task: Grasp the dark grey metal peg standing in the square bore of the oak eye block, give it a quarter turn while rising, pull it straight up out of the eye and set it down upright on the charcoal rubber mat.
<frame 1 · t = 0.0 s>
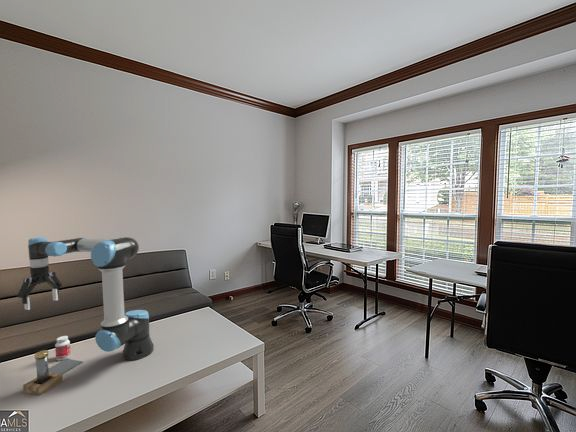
hand: (42, 304, 149), 28 cm above the table, fingers open, 13 cm apart
eye block: (43, 386, 125), on the table
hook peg: (42, 369, 124), in the eye block
rubber mat: (63, 367, 139), on the table
pill bottle: (63, 358, 147), on the table
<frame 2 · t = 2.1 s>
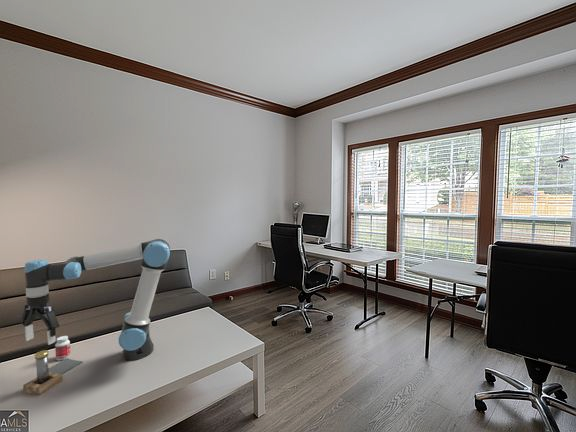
hand: (40, 341, 124), 21 cm above the table, fingers open, 13 cm apart
nothing on the table moved.
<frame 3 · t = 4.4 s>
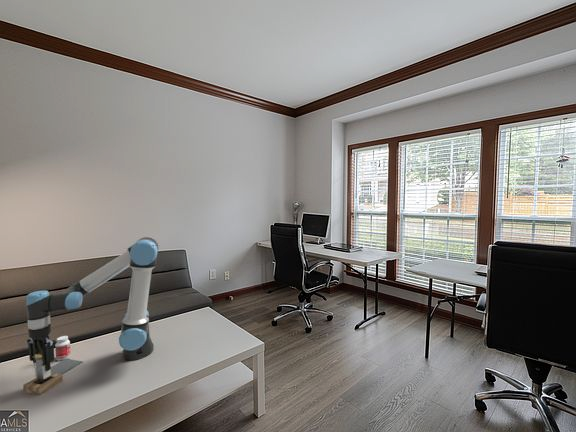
hand: (43, 376, 124), 5 cm above the table, fingers closed on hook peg, 4 cm apart
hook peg: (42, 369, 124), in the eye block, touching gripper
everything else where it was.
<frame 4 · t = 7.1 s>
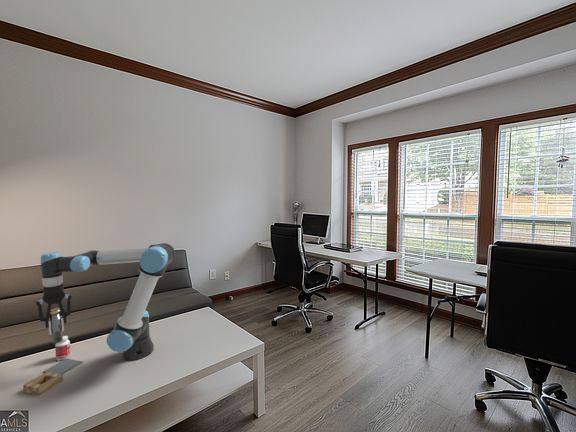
hand: (56, 331, 134), 20 cm above the table, fingers closed on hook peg, 4 cm apart
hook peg: (56, 325, 134), point 23 cm above the table, touching gripper
everything else where it was.
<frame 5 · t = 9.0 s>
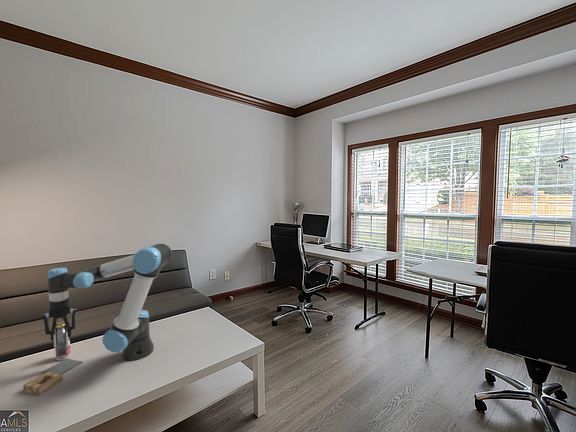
hand: (61, 344, 138), 12 cm above the table, fingers closed on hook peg, 4 cm apart
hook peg: (61, 338, 138), point 15 cm above the table, touching gripper
everything else where it was.
when the fingers open (6 cm above the table, at t = 10.3 s): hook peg stays where it is, resting on rubber mat.
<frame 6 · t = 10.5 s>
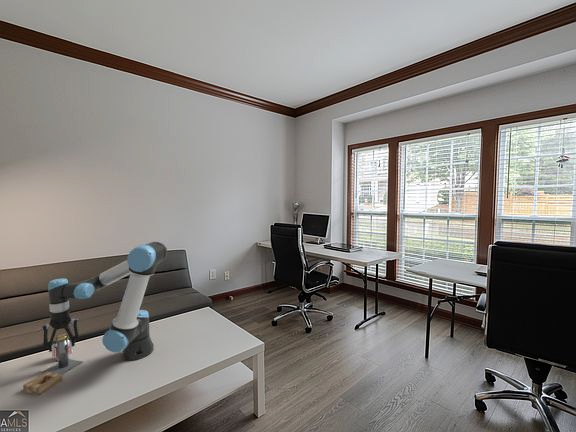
hand: (62, 354, 138), 7 cm above the table, fingers open, 6 cm apart
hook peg: (62, 351, 138), on the rubber mat, point 8 cm above the table
everything else where it was.
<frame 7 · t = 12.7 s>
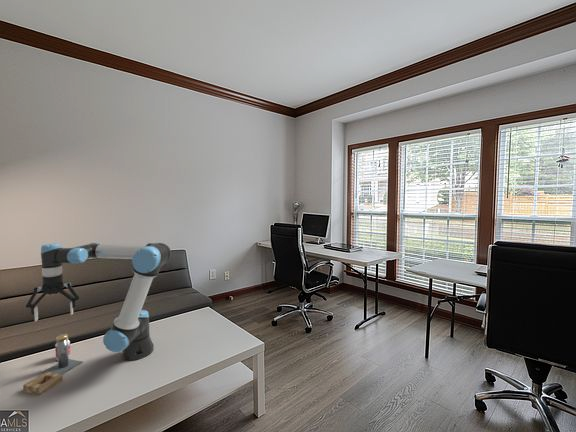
hand: (54, 317, 136), 26 cm above the table, fingers open, 13 cm apart
nothing on the table moved.
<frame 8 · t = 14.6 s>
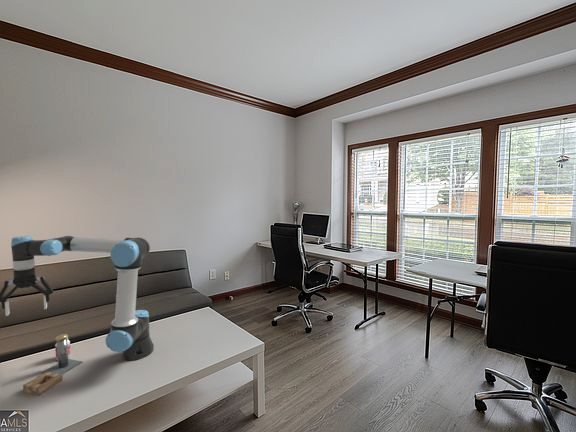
hand: (27, 311, 133), 31 cm above the table, fingers open, 13 cm apart
nothing on the table moved.
at the end: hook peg inside the target area on the rubber mat (0.1 cm from its centre), point 8.4 cm above the rubber mat's base; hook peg tilted 1°; the gripper is holding nothing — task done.
